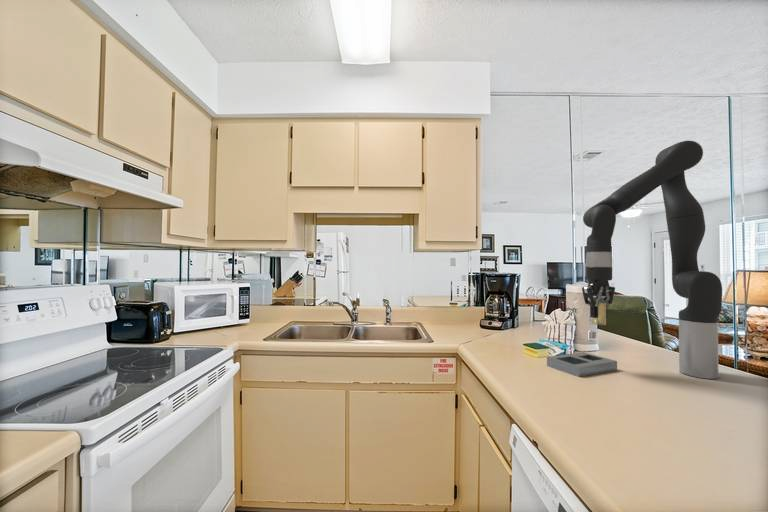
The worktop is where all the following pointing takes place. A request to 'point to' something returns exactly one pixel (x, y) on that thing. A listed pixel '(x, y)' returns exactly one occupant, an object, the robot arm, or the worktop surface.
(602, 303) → the gold and grey cylinder
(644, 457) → the worktop surface
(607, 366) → the grey fitting block
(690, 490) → the worktop surface
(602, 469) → the worktop surface
